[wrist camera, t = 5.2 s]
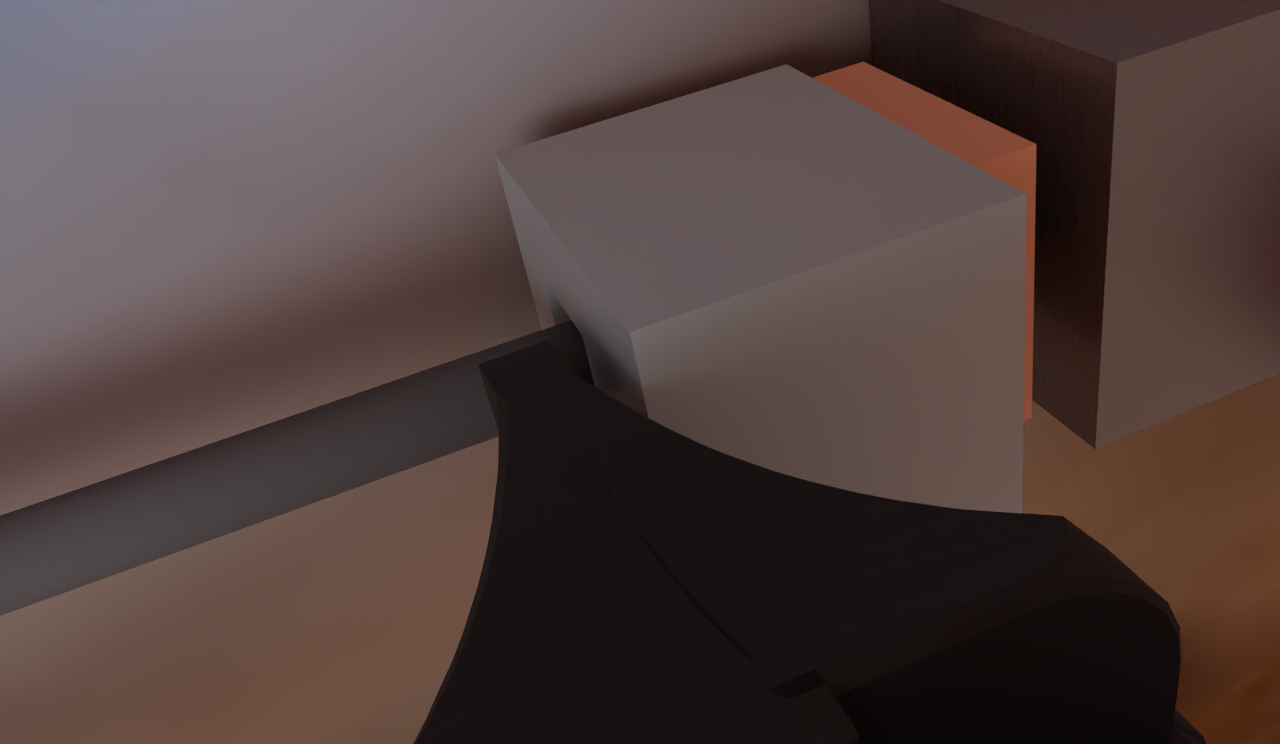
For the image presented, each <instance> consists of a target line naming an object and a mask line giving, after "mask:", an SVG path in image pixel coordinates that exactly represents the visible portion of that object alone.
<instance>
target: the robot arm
mask: <svg viewBox="0 0 1280 744" xmlns="http://www.w3.org/2000/svg"><path fill="white" fill-rule="evenodd" d="M478 367H479V370H480V373H481V376H482V379H483V383H484V386H485V389H486V392H487V395H488V398H489V402H490V405H491V408H492V411H493V414H494V418H495V421H496V424H497V427H498V430H499V464H498V477H497V485H496V494H495V502H494V511H493V519H492V525H491V530H490V536H489V541H488V546H487V551H486V556H485V560H484V564H483V568H482V572H481V576H480V580H479V584H478V587H477V591H476V594H475V597H474V600H473V603H472V607H471V610H470V613H469V616H468V619H467V622H466V626H465V629H464V632H463V634H462V637H461V640H460V643H459V645H458V648H457V651H456V653H455V656H454V658H453V661H452V663H451V665H450V667H449V669H448V672H447V674H446V676H445V678H444V681H443V683H442V685H441V687H440V689H439V692H438V694H437V696H436V698H435V701H434V703H433V705H432V707H431V710H430V712H429V714H428V716H427V718H426V721H425V723H424V724H423V726H422V728H421V730H420V732H419V734H418V736H417V738H416V740H415V742H414V743H413V744H1171V737H1172V729H1173V721H1174V713H1175V705H1176V697H1177V689H1178V681H1179V673H1180V664H1181V645H1180V627H1179V625H1178V623H1177V621H1176V619H1175V616H1174V614H1173V612H1172V610H1171V608H1170V606H1169V604H1168V602H1167V601H1166V600H1164V599H1163V598H1162V597H1161V596H1160V595H1159V594H1158V593H1156V592H1155V591H1154V590H1153V589H1152V588H1151V587H1150V586H1148V585H1147V584H1146V583H1145V582H1144V581H1143V580H1142V579H1140V578H1139V577H1138V576H1137V575H1136V574H1135V573H1134V572H1133V571H1132V570H1131V569H1130V568H1128V567H1127V566H1126V565H1125V564H1124V563H1123V562H1122V561H1120V560H1119V559H1118V558H1117V557H1116V556H1115V555H1113V554H1112V553H1111V552H1110V551H1109V550H1108V549H1106V548H1105V547H1104V546H1102V545H1101V544H1100V543H1098V542H1097V541H1096V540H1094V539H1093V538H1091V537H1090V536H1089V535H1087V534H1086V533H1085V532H1083V531H1082V530H1081V529H1079V528H1078V527H1077V526H1075V525H1074V524H1073V523H1071V522H1070V521H1069V520H1067V519H1066V518H1065V517H1063V516H1052V515H1038V514H1023V513H1009V512H995V511H981V510H966V509H956V508H948V507H941V506H934V505H927V504H921V503H914V502H907V501H900V500H893V499H888V498H883V497H878V496H872V495H867V494H862V493H857V492H852V491H848V490H844V489H840V488H836V487H832V486H828V485H824V484H820V483H816V482H812V481H808V480H803V479H800V478H796V477H793V476H789V475H786V474H783V473H779V472H776V471H773V470H770V469H767V468H764V467H761V466H758V465H755V464H753V463H750V462H747V461H744V460H741V459H738V458H736V457H733V456H730V455H727V454H724V453H722V452H719V451H717V450H714V449H712V448H709V447H707V446H705V445H702V444H700V443H698V442H696V441H694V440H692V439H690V438H688V437H685V436H683V435H681V434H679V433H677V432H675V431H673V430H671V429H669V428H667V427H665V426H663V425H661V424H659V423H657V422H655V421H653V420H651V419H650V418H648V417H646V416H644V415H643V414H641V413H639V412H637V411H635V410H634V409H632V408H630V407H628V406H627V405H625V404H623V403H621V402H620V401H618V400H616V399H614V398H613V397H611V396H609V395H608V394H606V393H604V392H603V391H601V390H600V389H598V388H596V387H595V386H593V385H592V384H590V383H589V382H587V381H586V380H584V379H582V378H581V377H579V376H578V375H576V374H575V372H574V370H573V368H572V366H571V364H570V362H569V361H568V360H567V359H566V358H565V357H564V355H563V354H562V353H561V352H560V351H559V350H558V349H557V348H556V347H555V346H554V345H553V344H551V343H550V342H549V341H548V340H547V341H544V342H541V343H538V344H535V345H532V346H529V347H527V348H524V349H521V350H518V351H515V352H512V353H509V354H506V355H504V356H501V357H498V358H495V359H492V360H489V361H486V362H484V363H481V364H478Z"/></svg>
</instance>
